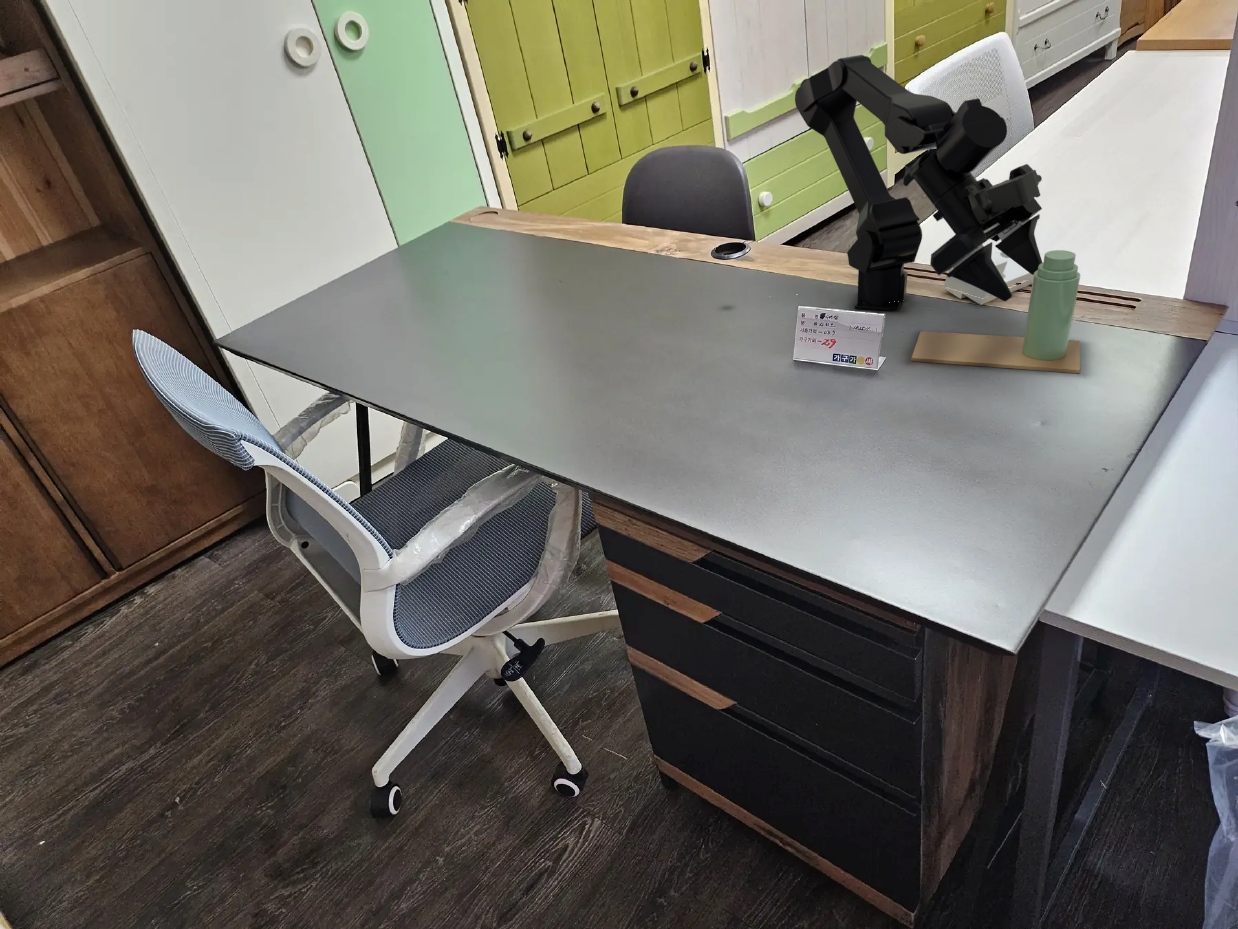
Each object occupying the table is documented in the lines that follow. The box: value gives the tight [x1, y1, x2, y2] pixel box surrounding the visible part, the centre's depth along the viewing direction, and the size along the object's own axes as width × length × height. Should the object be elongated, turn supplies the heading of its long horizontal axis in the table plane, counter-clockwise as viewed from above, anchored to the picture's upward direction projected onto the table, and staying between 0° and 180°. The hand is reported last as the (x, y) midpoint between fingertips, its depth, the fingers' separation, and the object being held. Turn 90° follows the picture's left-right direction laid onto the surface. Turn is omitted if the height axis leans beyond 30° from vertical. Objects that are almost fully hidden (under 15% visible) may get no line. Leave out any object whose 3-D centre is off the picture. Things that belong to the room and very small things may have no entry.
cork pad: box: [910, 330, 1081, 374], centre depth 112 cm, size 20×9×1 cm, turn 66°
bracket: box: [943, 248, 1033, 306], centre depth 129 cm, size 13×7×8 cm, turn 121°
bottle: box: [1022, 249, 1081, 360], centre depth 106 cm, size 5×5×13 cm
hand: (1026, 287), depth 108 cm, fingers open, 9 cm apart
